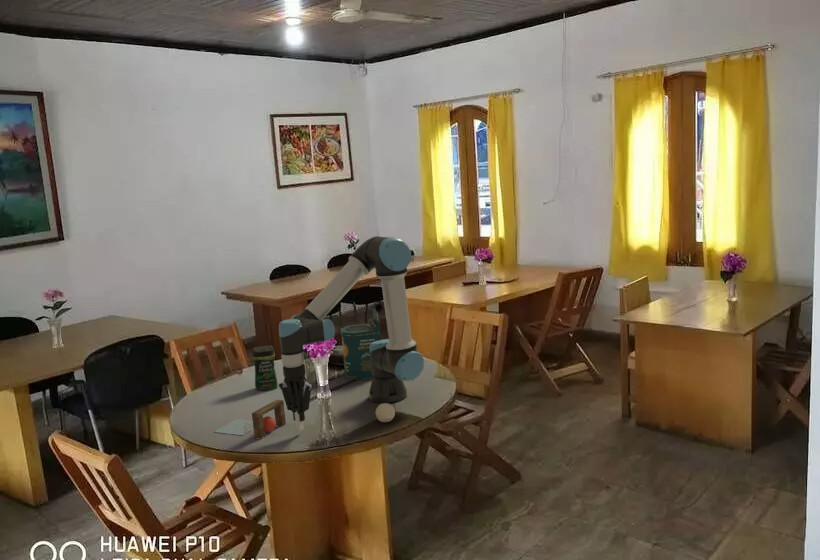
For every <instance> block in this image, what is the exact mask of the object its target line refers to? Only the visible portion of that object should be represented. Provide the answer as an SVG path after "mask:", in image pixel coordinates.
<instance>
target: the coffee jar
mask: <svg viewBox="0 0 820 560" xmlns="http://www.w3.org/2000/svg"><path fill="white" fill-rule="evenodd" d="M275 353H276V352H275V349H274V347H273V345H264V346H262V345H261V346H255V347H254V346H253V348H252V353H251V355H252V356H251V357H252V360H253V363H254V383H255V384H254V386H255V390H257V391H268V390H275V389H276V388H278V387H279V383H278V376H277V372H276V368H275V367H276V366H275V356H276V354H275Z"/></svg>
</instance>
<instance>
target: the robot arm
mask: <svg viewBox="0 0 820 560" xmlns="http://www.w3.org/2000/svg"><path fill="white" fill-rule="evenodd" d="M411 261H412V253H411V249H410V247H409V245H408V243H406V242H405V241H404V240H403V239H400V238H397V237H393V236H392V237H391V236H373V237H370V238H368V239H367V240H365V241H364V242H363V243H362V244H360V245H359V247H357V248H356V249H355V250H354V251H353V252H352V253H351V254H350V256H349V257H348V261H347V263H346V264H344V266H343V267H342V268H341V270H339V272H338V273H336V275H334V277H333V278H332V279H331V280H330V281H329V282H328V284H326V286H324V288H323V289H322V290H321V291H320V292H319V293H318V294H317V295H316V296H315V298H314V299H313V300H312V301H310V303H309V304H308V305H307V306H306V307H305V308H304V309H303V310H302V311H301V312H300V313H299V314H294V315H293V316H291V317H290V318H289V319H283V320H282V321H280V322H279V324H278V336H279V343H280V353H281V355H280V356H281V364H282V372H283V373H282V374H283V377H284V379H283V382H279V383H278V387H279V389H280V390H281V393H282V396H283V399H284V400H283V401H284V402H285V403H284V404H285V405H286V406H285V407H286V409H287V410H288V411H291V412H292V418H293V421H294V422H295V431H296V432H301V431H302V430H304V429H305V423H304V421H305V420H306V416H305V412H306V411H308V410H309V409H310V402H311V395H312V394H311V393H312V389H313V387H314V384H312V383H309V382H308V381H307V378H306V365H305V356H304V355H305V354H304V346H308V345H312V344H313V345H314V344H317V343H323V342H325V343H326V342H327V341H331V340H333V339H334V338H335V334H336V328H335V324H334V323H333V320H331V319H330V318H326V316H327V315H328V314H329V313H330V312H331V311H332V309H334V308H335V306H336V305H337V304H338V303H339V302H340V301H341V300H342V299H343V298H344V297H345V295H347V293H348V292H349V291H350V290H351V289H352V288H353V287H354V286H355V285H356V284H357V282H358V281H360V279H362V277H363V276H366V275H369V273H370V272H371V271H373V270H374V269H375V277H377V278H378V279H379V280H380V281H381V288H382V289H381V290H382V296H383V304H384V312H385V319H386V328H387V335H388V338H386V339H380V340H379V341H375V342H372V343H371V344H370V359H371V371H372V378H371V382H370V388H369V391H368V396H369V397H368V398H369V400H370V401H372V402H374V403H380V404H383V403H388V404H389V403H395V402H398V401H402V400H404V399H406V398H407V397H408V389H407V387H406V384H405V382H410V381H413V380H416V379H417V378H419V376H420V374H421V373H422V372H423V370H424V366H425V360H424V357H423V355H422V354H421V353H420V352H418V346H417V341H416V340H415V339H413V338H412V331H411V322H410V314H409V313H410V312H409V306H408V298H407V292H406V282H405V276H406V275H407V273H408V266H409V264H410V263H411ZM404 381H405V382H404ZM406 396H407V397H406ZM405 397H406V398H405ZM394 401H395V402H394Z"/></svg>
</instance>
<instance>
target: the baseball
mask: <svg viewBox="0 0 820 560" xmlns="http://www.w3.org/2000/svg"><path fill="white" fill-rule="evenodd" d="M395 415H396V411H395V408H394V406H393V404H391V403H389V402H388V403H380V404H379V405H377V407H376V409H375V416H376V417H375V418H376V419H377V420H378V421H379V422H381V423H389V422H391V421H393V419H394V418H395Z"/></svg>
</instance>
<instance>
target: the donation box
mask: <svg viewBox="0 0 820 560" xmlns="http://www.w3.org/2000/svg"><path fill="white" fill-rule="evenodd" d="M380 323H381V322H380V314H379V312H378V311H377V310H376V309H375V308H374V307H372V318H369V319H368V323H359V324H353V325H350V324H349V325H346V326H344V327H341V328H340V335H341V342H342V343H341V344H342V345H341V346H343V356H344V365H343V366H344V368H343V372H344V373H343V374H344V375H345V378H346V379H349V380H355V379H356V380H357V381H358V380H359V379H360V380H365V379H364V378H367V379H371V378H370V377H372V371H371V359H370V344H371V343H372V342H375V341H379V340H381V325H380Z"/></svg>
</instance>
